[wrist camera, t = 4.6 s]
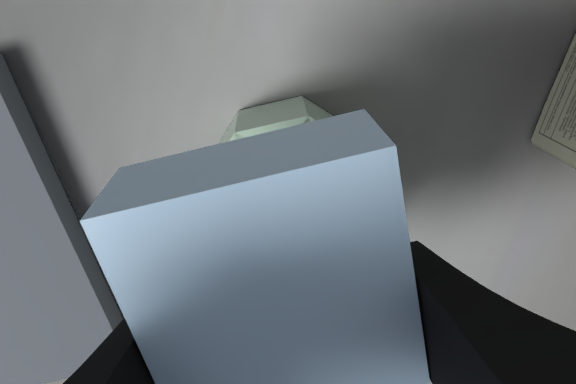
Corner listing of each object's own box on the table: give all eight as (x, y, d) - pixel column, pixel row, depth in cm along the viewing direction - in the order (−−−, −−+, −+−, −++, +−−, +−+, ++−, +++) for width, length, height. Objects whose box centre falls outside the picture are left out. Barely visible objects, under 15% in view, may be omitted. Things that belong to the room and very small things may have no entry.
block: (408, 375, 14) (440, 458, 11) (220, 416, 14) (212, 506, 11) (364, 108, 10) (395, 145, 8) (119, 167, 11) (79, 220, 8)
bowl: (369, 221, 21) (386, 257, 18) (235, 250, 21) (230, 291, 18) (346, 85, 18) (361, 103, 15) (194, 120, 18) (182, 144, 16)
